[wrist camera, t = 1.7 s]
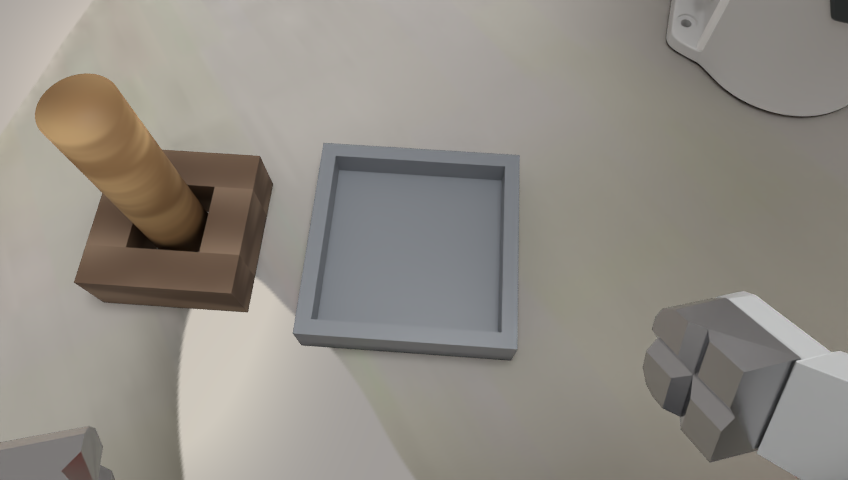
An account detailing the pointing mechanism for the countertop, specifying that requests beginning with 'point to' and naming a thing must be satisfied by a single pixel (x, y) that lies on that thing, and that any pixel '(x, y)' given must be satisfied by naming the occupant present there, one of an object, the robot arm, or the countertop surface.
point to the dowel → (121, 159)
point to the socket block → (181, 270)
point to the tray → (412, 253)
